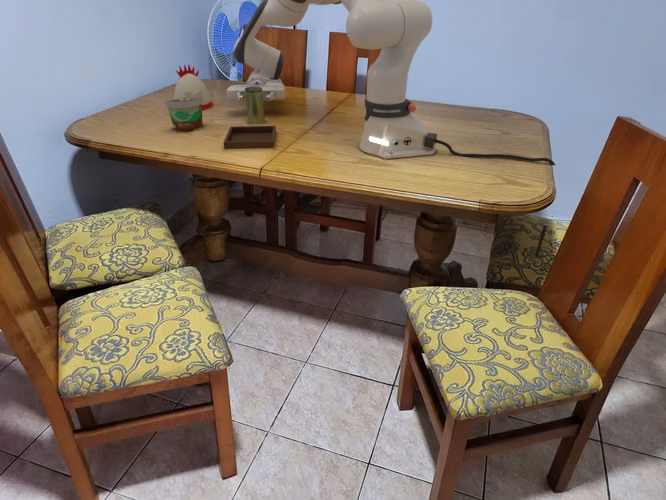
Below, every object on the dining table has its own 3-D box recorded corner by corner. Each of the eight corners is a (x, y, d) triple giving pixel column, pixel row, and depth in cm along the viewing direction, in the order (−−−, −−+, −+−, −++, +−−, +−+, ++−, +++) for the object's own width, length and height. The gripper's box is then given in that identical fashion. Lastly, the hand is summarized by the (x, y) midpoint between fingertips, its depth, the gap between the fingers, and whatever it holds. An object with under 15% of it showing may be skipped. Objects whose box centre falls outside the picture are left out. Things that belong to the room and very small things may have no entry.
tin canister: (265, 120, 161) (262, 86, 155) (264, 125, 157) (261, 90, 150) (249, 120, 161) (245, 86, 155) (247, 125, 156) (243, 91, 150)
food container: (168, 134, 149) (162, 103, 144) (169, 128, 154) (163, 97, 149) (208, 130, 152) (203, 100, 146) (207, 125, 157) (202, 95, 151)
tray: (276, 133, 150) (275, 125, 148) (273, 149, 138) (273, 141, 136) (231, 134, 149) (230, 126, 148) (224, 150, 137) (223, 142, 136)
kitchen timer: (172, 103, 179) (164, 62, 171) (207, 99, 184) (201, 59, 176) (178, 113, 169) (170, 69, 160) (215, 108, 173) (209, 66, 165)
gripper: (228, 79, 165) (222, 89, 154) (285, 78, 166) (284, 88, 155) (230, 97, 169) (224, 108, 157) (286, 96, 170) (285, 107, 158)
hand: (254, 98), depth 156 cm, fingers open, 8 cm apart
